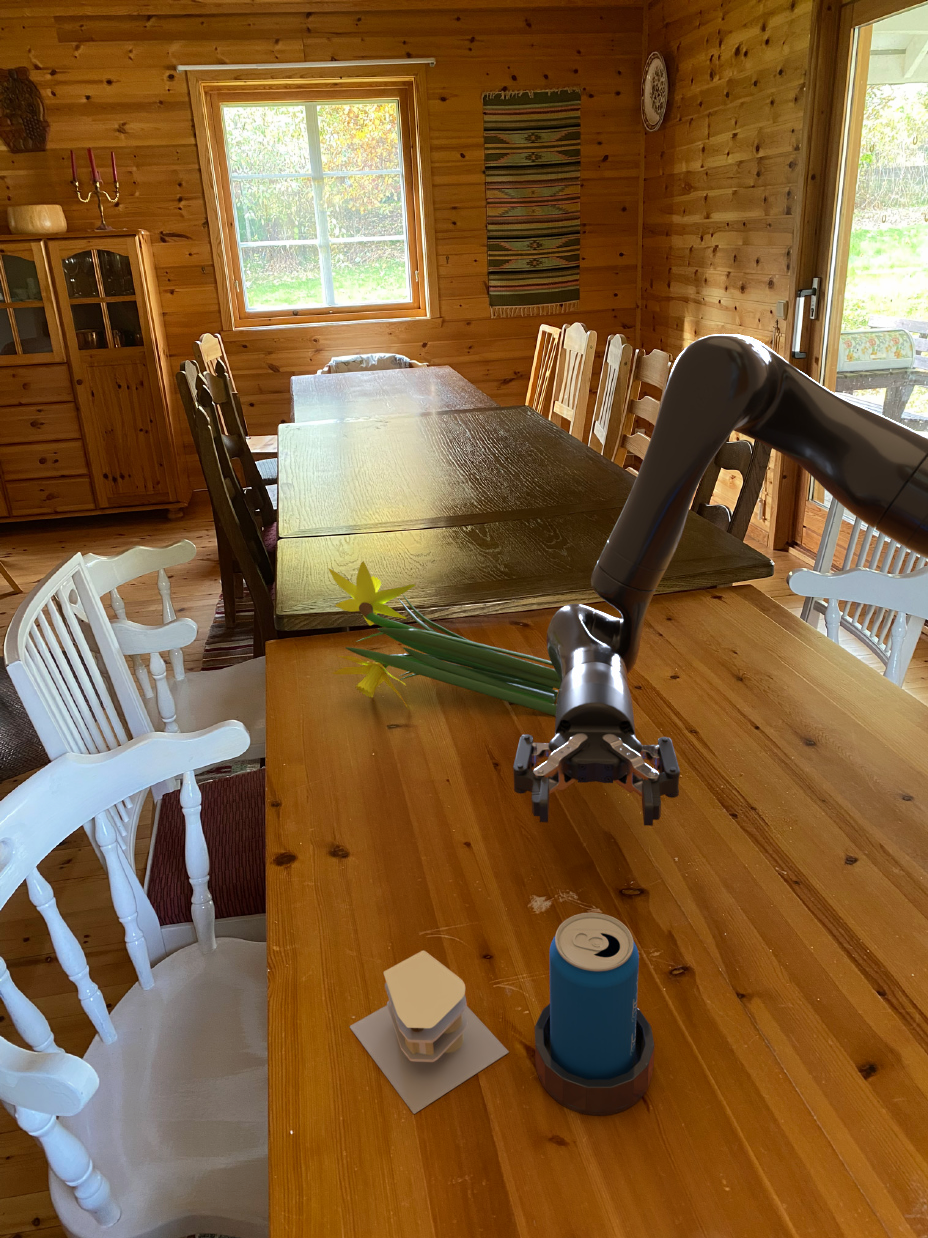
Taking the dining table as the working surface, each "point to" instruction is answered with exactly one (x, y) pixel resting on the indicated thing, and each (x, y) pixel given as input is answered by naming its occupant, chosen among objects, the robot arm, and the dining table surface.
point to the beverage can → (593, 996)
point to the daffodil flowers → (441, 653)
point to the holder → (592, 1092)
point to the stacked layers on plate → (426, 1032)
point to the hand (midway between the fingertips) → (596, 815)
